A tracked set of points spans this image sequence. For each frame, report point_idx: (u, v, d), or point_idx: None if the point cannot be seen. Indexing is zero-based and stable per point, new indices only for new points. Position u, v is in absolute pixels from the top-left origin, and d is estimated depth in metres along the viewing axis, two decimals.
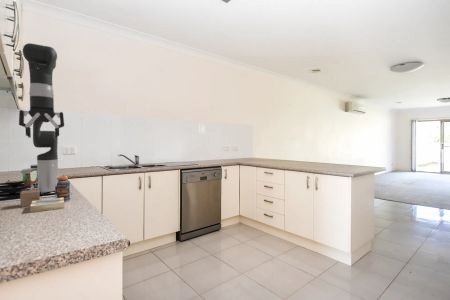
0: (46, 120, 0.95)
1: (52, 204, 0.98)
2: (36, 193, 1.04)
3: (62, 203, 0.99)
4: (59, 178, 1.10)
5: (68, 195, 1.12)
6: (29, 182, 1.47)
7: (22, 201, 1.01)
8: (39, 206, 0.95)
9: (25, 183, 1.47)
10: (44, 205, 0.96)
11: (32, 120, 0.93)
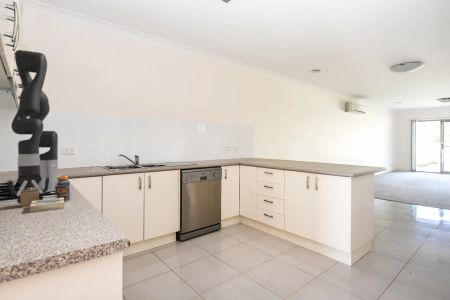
0: (32, 186, 1.04)
1: (52, 204, 0.98)
2: (36, 193, 1.04)
3: (62, 203, 0.99)
4: (59, 178, 1.10)
5: (68, 195, 1.12)
6: None
7: (22, 200, 1.01)
8: (39, 206, 0.95)
9: None
10: (44, 205, 0.96)
11: (22, 188, 1.02)
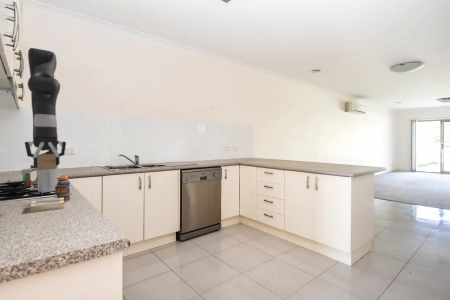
0: (48, 148, 0.99)
1: (52, 204, 0.98)
2: (53, 156, 0.99)
3: (62, 203, 0.99)
4: (59, 178, 1.10)
5: (68, 195, 1.12)
6: (29, 182, 1.47)
7: (39, 163, 0.96)
8: (39, 206, 0.95)
9: (25, 183, 1.47)
10: (44, 205, 0.96)
11: (38, 150, 0.97)
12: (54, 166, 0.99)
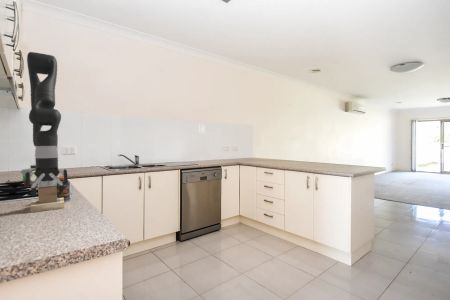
0: (51, 179, 1.00)
1: (52, 204, 0.98)
2: (54, 189, 0.99)
3: (62, 203, 0.99)
4: (59, 178, 1.10)
5: (68, 195, 1.12)
6: None
7: (40, 197, 0.97)
8: (39, 206, 0.95)
9: None
10: (44, 205, 0.96)
11: (38, 181, 0.97)
12: (55, 199, 1.00)
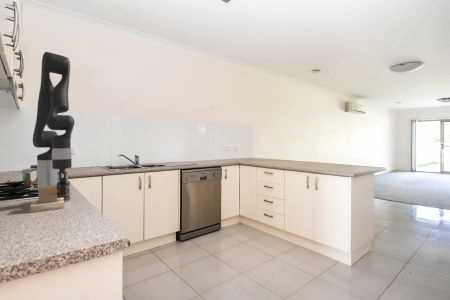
0: None
1: (52, 204, 0.98)
2: (54, 189, 0.99)
3: (62, 203, 0.99)
4: None
5: (68, 195, 1.12)
6: (29, 182, 1.47)
7: (40, 197, 0.97)
8: (39, 206, 0.95)
9: (25, 183, 1.47)
10: (44, 205, 0.96)
11: None
12: (55, 199, 1.00)
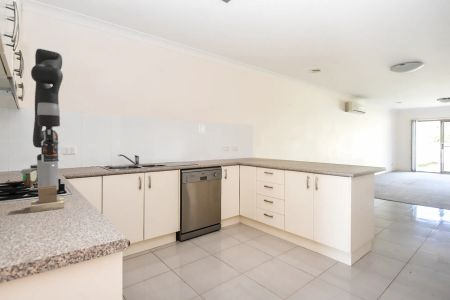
0: None
1: (52, 204, 0.98)
2: (54, 189, 0.99)
3: (62, 203, 0.99)
4: None
5: (56, 155, 1.01)
6: (29, 182, 1.47)
7: (40, 197, 0.97)
8: (39, 206, 0.95)
9: (25, 183, 1.47)
10: (44, 205, 0.96)
11: None
12: (55, 199, 1.00)
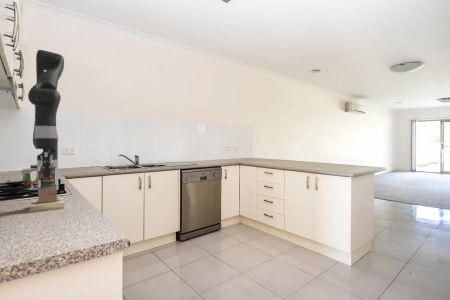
0: None
1: (52, 204, 0.98)
2: (54, 189, 1.00)
3: (62, 203, 0.99)
4: None
5: (53, 181, 1.00)
6: (29, 182, 1.47)
7: (40, 197, 0.97)
8: (39, 206, 0.95)
9: (25, 183, 1.47)
10: (44, 205, 0.96)
11: None
12: (55, 199, 1.00)
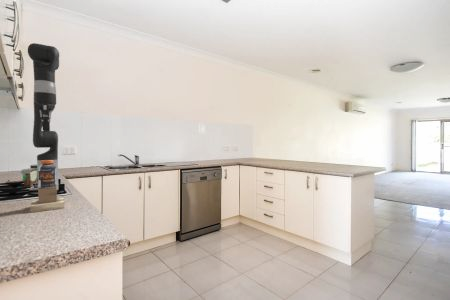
0: None
1: (52, 204, 0.98)
2: (54, 189, 1.00)
3: (62, 203, 0.99)
4: (43, 162, 0.98)
5: (53, 181, 1.00)
6: (29, 182, 1.47)
7: (40, 197, 0.97)
8: (39, 206, 0.95)
9: (25, 183, 1.47)
10: (44, 205, 0.96)
11: None
12: (55, 199, 1.00)
